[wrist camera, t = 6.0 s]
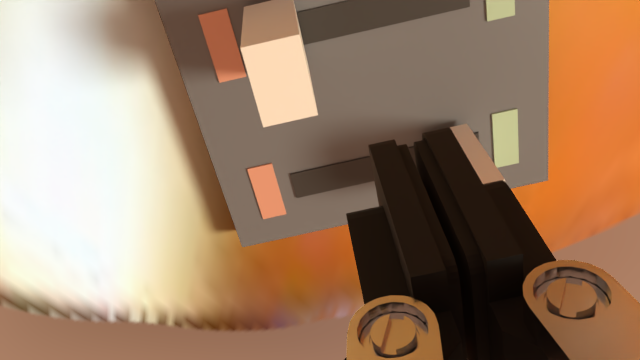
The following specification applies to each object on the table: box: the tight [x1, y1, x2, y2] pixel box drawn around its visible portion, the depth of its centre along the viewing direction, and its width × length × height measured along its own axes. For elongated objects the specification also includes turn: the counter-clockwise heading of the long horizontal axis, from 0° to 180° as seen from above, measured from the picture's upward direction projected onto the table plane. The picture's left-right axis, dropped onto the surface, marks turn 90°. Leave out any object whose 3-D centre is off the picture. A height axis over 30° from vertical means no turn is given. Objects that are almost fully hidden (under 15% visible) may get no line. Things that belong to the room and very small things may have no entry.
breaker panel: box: [155, 0, 549, 247], centre depth 25 cm, size 21×16×2 cm
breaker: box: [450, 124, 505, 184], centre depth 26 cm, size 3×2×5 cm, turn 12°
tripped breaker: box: [240, 0, 318, 127], centre depth 22 cm, size 3×2×5 cm, turn 12°
